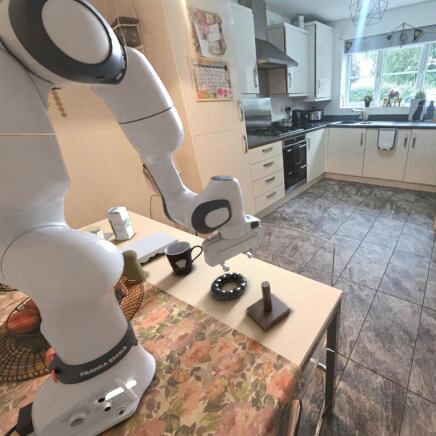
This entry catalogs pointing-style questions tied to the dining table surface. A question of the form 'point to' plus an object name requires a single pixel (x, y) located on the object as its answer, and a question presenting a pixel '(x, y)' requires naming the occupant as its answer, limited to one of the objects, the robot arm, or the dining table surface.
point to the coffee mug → (181, 257)
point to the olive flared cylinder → (133, 267)
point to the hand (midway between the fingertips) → (239, 263)
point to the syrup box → (120, 223)
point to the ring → (232, 293)
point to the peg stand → (268, 308)
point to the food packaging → (150, 245)
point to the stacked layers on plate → (96, 231)
